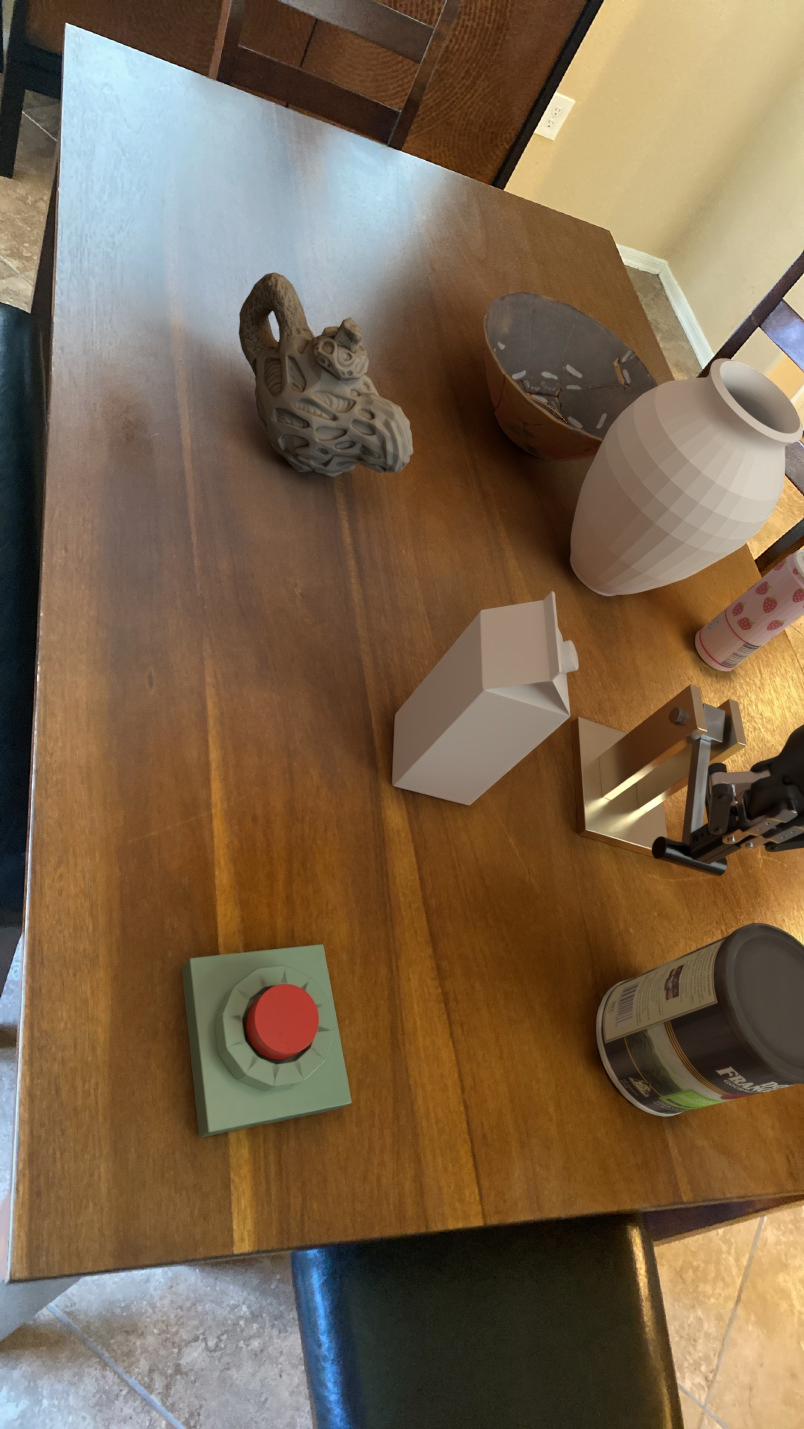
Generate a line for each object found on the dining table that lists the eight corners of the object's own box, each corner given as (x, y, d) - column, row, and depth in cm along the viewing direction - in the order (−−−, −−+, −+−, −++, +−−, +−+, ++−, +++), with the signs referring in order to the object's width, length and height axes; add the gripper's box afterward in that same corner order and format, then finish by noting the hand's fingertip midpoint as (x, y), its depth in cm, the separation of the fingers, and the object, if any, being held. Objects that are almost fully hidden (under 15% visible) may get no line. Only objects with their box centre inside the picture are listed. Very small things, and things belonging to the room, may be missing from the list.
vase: (577, 644, 89) (755, 469, 70) (502, 511, 95) (647, 318, 76) (687, 627, 99) (868, 471, 80) (612, 508, 105) (764, 336, 86)
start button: (314, 1054, 53) (324, 1047, 51) (250, 1065, 51) (259, 1058, 49) (303, 987, 54) (312, 980, 53) (241, 995, 52) (249, 988, 51)
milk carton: (390, 787, 70) (513, 656, 55) (393, 714, 74) (509, 574, 59) (468, 807, 72) (605, 686, 58) (467, 735, 76) (595, 606, 62)
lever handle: (708, 877, 70) (729, 876, 68) (647, 859, 68) (667, 857, 66) (723, 723, 74) (743, 717, 72) (666, 702, 72) (685, 695, 70)
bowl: (546, 357, 118) (590, 293, 110) (650, 494, 111) (704, 436, 103) (405, 357, 103) (444, 283, 95) (515, 517, 96) (566, 451, 88)
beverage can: (706, 624, 101) (806, 540, 90) (740, 661, 100) (845, 581, 89) (684, 641, 97) (785, 556, 86) (719, 680, 96) (826, 599, 85)
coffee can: (715, 1119, 67) (867, 1086, 56) (606, 1114, 63) (746, 1078, 52) (687, 984, 72) (820, 930, 62) (585, 972, 69) (708, 913, 58)
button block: (339, 1109, 55) (363, 1098, 52) (198, 1138, 51) (216, 1128, 48) (312, 953, 60) (333, 935, 57) (181, 967, 55) (196, 949, 52)
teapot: (405, 497, 89) (476, 381, 78) (339, 542, 82) (408, 421, 70) (256, 360, 90) (304, 226, 79) (177, 391, 83) (218, 248, 71)
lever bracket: (661, 859, 78) (775, 793, 68) (577, 835, 76) (683, 761, 65) (647, 749, 85) (749, 673, 75) (570, 722, 83) (665, 640, 72)
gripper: (817, 767, 50) (631, 875, 63) (976, 825, 54) (771, 915, 68) (792, 666, 55) (623, 787, 68) (941, 726, 59) (754, 829, 72)
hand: (697, 851), depth 68 cm, fingers closed
